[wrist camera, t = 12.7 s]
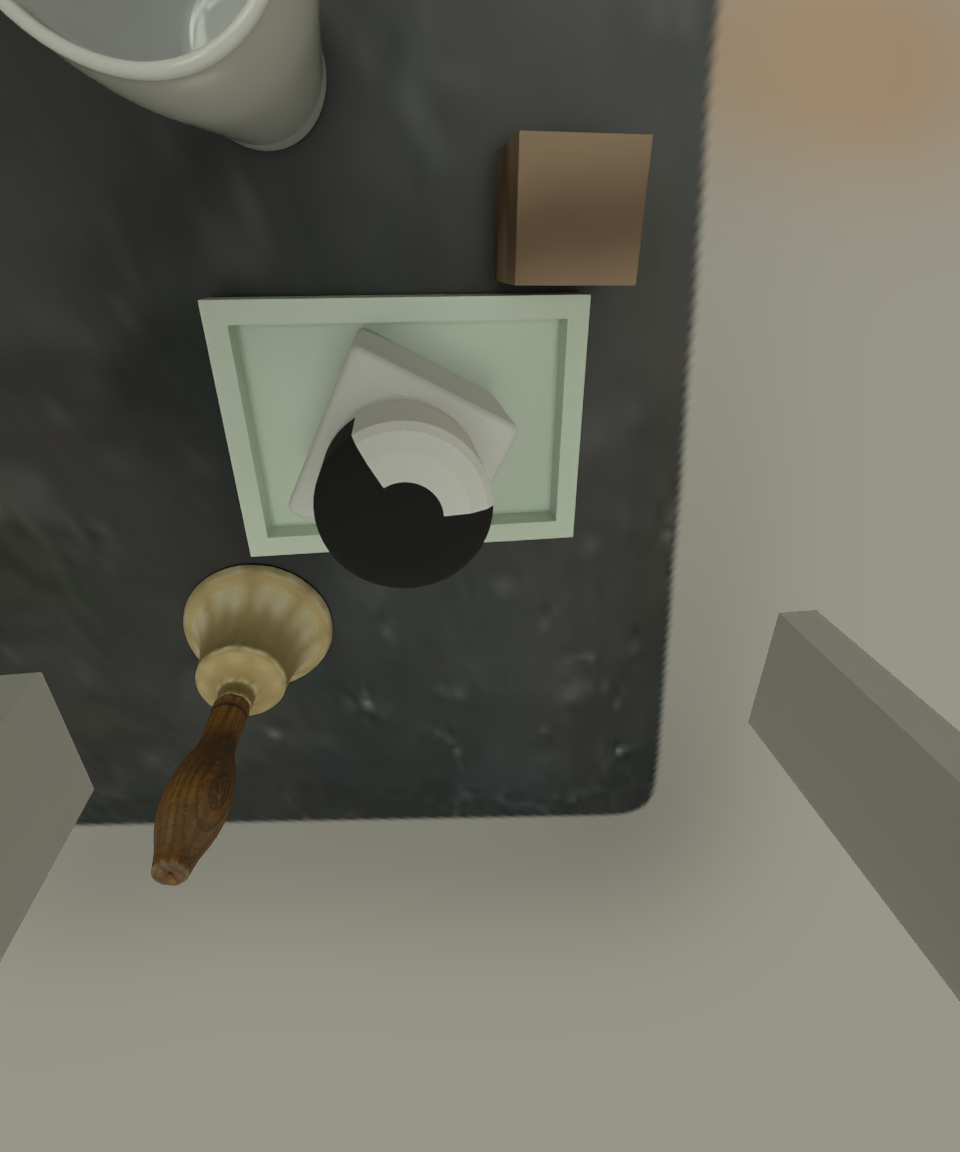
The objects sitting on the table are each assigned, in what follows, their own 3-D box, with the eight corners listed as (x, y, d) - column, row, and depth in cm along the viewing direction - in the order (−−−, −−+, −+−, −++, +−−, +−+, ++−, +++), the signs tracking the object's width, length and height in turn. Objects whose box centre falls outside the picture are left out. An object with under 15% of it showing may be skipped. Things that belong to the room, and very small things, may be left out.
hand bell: (307, 697, 38) (259, 954, 24) (169, 661, 35) (25, 925, 21) (352, 590, 35) (327, 815, 21) (204, 542, 32) (62, 761, 18)
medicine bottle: (433, 514, 32) (454, 638, 22) (306, 460, 30) (261, 568, 20) (495, 393, 30) (552, 467, 19) (360, 323, 28) (342, 365, 17)
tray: (210, 297, 27) (197, 300, 25) (578, 292, 29) (590, 294, 27) (258, 540, 32) (250, 556, 31) (563, 522, 34) (572, 537, 33)
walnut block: (497, 151, 26) (519, 130, 21) (609, 154, 26) (652, 134, 22) (495, 280, 28) (514, 285, 24) (598, 280, 29) (635, 285, 24)
